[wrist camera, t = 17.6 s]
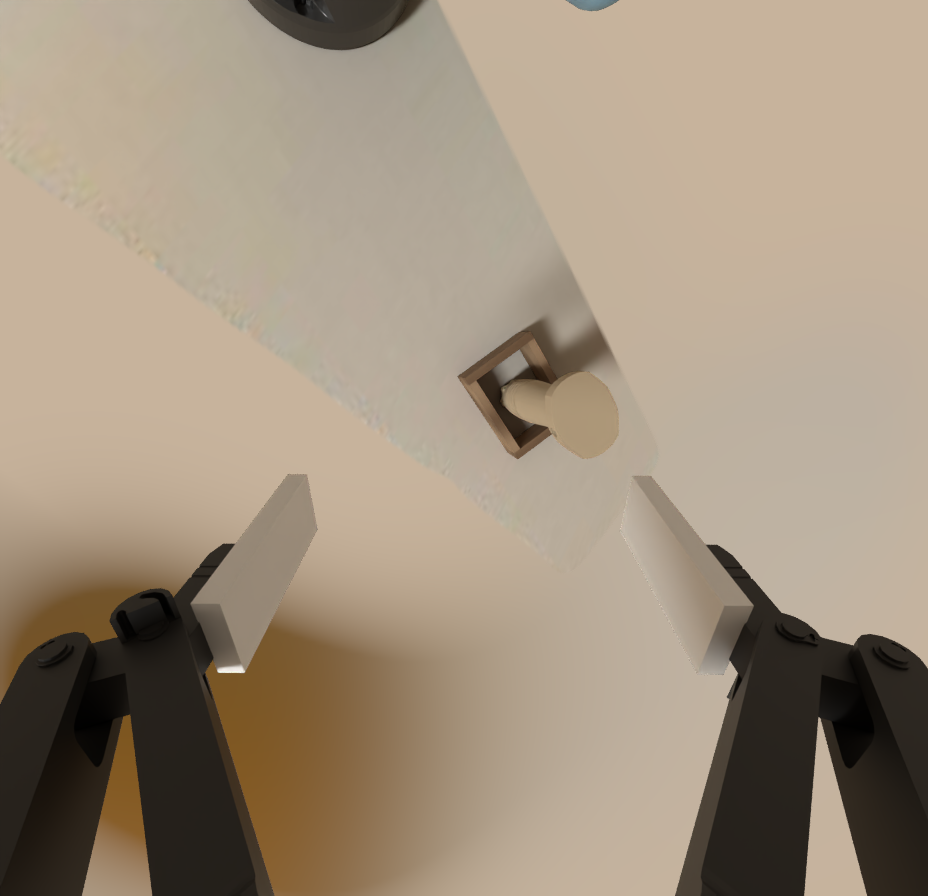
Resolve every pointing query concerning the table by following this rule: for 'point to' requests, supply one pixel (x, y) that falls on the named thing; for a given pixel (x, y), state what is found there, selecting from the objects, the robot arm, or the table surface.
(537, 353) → the socket block
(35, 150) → the table surface
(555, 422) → the handle
